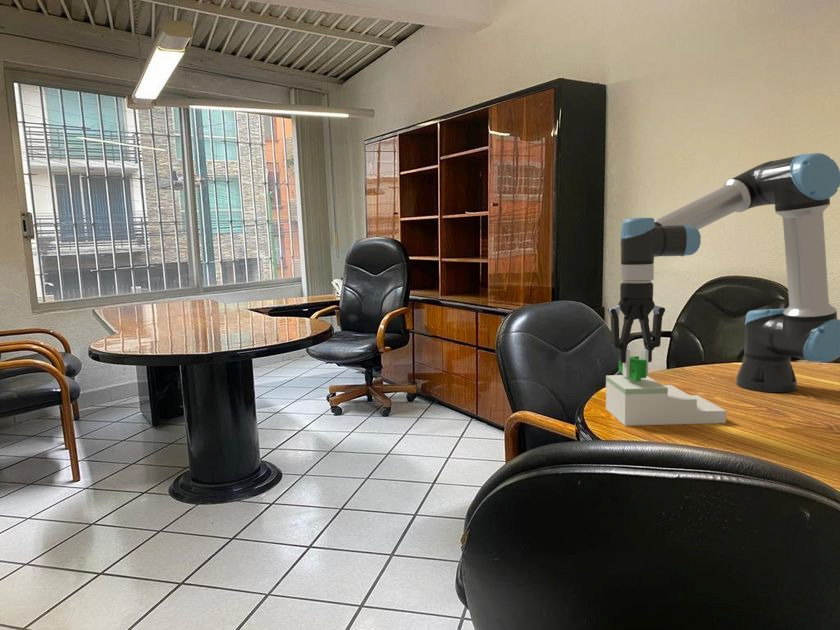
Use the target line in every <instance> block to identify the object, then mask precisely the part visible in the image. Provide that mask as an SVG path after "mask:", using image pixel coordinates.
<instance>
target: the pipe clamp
mask: <svg viewBox="0 0 840 630" xmlns="http://www.w3.org/2000/svg"><path fill="white" fill-rule="evenodd" d="M646 368H647V360H641V358H640V356H639V355H637V356H635V355H633V356H631V355H630V378H631V379H633V380H635V381H641V378H646ZM618 372H620V373H621V374H623V363H621V362H620V361H619V360H618Z"/></svg>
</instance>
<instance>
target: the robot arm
mask: <svg viewBox="0 0 840 630" xmlns="http://www.w3.org/2000/svg"><path fill="white" fill-rule="evenodd" d="M838 188H840V168H839V166H838V164H837V162H836V161H835V160H834V159H832V158H831V157H830V156H828V155H827V154H824V153H819V152H814V153H813V152H812V153H806V154H805V153H802V154H798V155H795V156H790V157H786V158H780V159H776V160H769V161H766V162H763V163H761V164H758V165H756V166H755V167H751V168H750V169H748V170H746V171H744V172H742V173H741V174H738V175H736V176H734V177H732V178H731V179H729V180H726V181H725V182H724V183H723V184H722V187H720V188H718V189H716V190H714V191H711V192H710V193H708V194H706V195H704V196H702V197H700V198H698V199H696V200H694V201H692V202H689V203H688V204H686V205H684V206H681V207H680V208H678V209H676V210H674V211H672V212H669V213H667V214H665V215H663V216H661V217H659V218H657V219H654V218H653V217H632V218H626V219H624V220H623V221H622V223H621V228H620V229H621V230H620V280H621V281H622V282H621V283H620V287H619V289H620V291H619V292H620V293H619V294H620V295H619V296H620V297H619V298H620V300H619V302H618V304H617V306H613V307H609V308H607V312H608V314H609V317H610V337H611V346H612V347H613V348H615V349H618V350H619V352H618V362H619V361H620V362H621V363H623V373H622V375H625V376H626V377H630V356H631V350H630V349H628V346H629V340H630V335H631V331H632V327H633V324H634V321H635V320H638V323H640V324H639V325H640V331H641V336H642V337H641V338H642V341H643V342H642V343H643V347H644V348H640V360H647V368H646V376H648V377H649V363H651V362H652V361H653V351H654V350H655V348H659V347H660V346H661V343H662V342H661V338H662V326H663V325H662V323H663V316H664V314H665V312H666V308H665V307H663V306H658V305H656V303H655V302H654V283H653V282H652V281H653V280H654V277H655V276H654V275H655V273H654V269H655V268H654V267H655V257H658V258H659V257H684V256H692V255H695V254H696V252H698V251H699V248H700V246H701V238H702V236H701V233H700V231H699V230H700V229H702V228H704V227H706V226H709V225H710V224H712V223H714V222H717V221H719V220H721V219H723V218H725V217H727V216H728V215H731V214H733V213H735V212H736V213H742V212H745V211H748V210H750V209H753V208H755V207H761V206H769V205H774V210H775V213H776V214H777V215H778V216H780V217H781V219H782V223H783V224H782V225H783V226H782V227H783V237H784V238H783V239H784V251H785V252H784V253H785V264H786V265H785V266H786V279H787V291H788V293H787V295H788V306H787V308H769V309H767V308H766V309H753V310H749V311H747V313H746V316H745V322H744V339H743V341H744V348H743V349H744V350H743V352H744V353H743V361H742V362H741V365H740V368H739V370H738V372H737V375H736V376H735V377H736V379H735V381H736V383H735V384H736V385H737V386H738V387H741V388H744V389H748V390H751V391H752V390H753V391H758V392H766V393H767V392H769V393H789V392H790V393H791V392H794V391H796V390H797V388H798V381H797V377H796V374H795V371H794V368H793V366H792V365H793V364H792V362H791V361H792V358H796V359H801V360H805V361H808V362H812V363H813V362H818V363H822V364H823V363H830V362H833V361H835V360H837V359H838V358H840V319H838V311H837V308H835V307H834V306H832V304H830V301H829V300H830V299H829V285H828V270H827V269H828V267H827V255H826V238H825V225H824V224H825V222H824V212H825V211H826V209H827V208H828V207H830V205H831V199H830V198H831V197H834V195H836V193H837V192H838V191H839V190H838ZM620 312H621V313H622V314H623V316H624V317H623V323H622V324H623V325H622V329H621V330H622V331H621V333H620V318H619V315H620ZM651 312H652V314H653V318H652V328H650V318H649V315H650V314H651ZM651 329H652V330H651Z"/></svg>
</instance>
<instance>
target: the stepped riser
mask: <svg viewBox="0 0 840 630" xmlns="http://www.w3.org/2000/svg"><path fill="white" fill-rule="evenodd" d="M605 410H607V411H608V412H609V413H610V415H613V416H614V418H616V420H618V421H619V422H620V423H621V424H622V425H623V426H624V427H625V426H629V427H631V426H659V425H660V426H662V425H663V426H666V425H700V424H701V425H702V424H726V423H727V410H725V408H722V407H720V406H718V405H716V404H714V403H713V402H710V401H709V400H708V399H705V398H704V397H702V396H700V395H698V394H697V395H695V394H693V395H690V394H688V393H686V392H684V391H683V390H680V389H679V388H677V387H675V386H673V385H672V384H661V383H660V382H658V381H657V380H655V379H653V378H652V377H649V375H648V376H646V378H641V381H635V380H633V379H631V378H630V377H626V376H625V375H623V374H615V375H614V374H613V375H605Z"/></svg>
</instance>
